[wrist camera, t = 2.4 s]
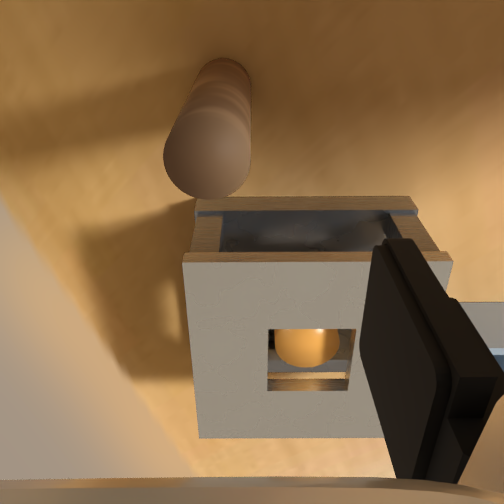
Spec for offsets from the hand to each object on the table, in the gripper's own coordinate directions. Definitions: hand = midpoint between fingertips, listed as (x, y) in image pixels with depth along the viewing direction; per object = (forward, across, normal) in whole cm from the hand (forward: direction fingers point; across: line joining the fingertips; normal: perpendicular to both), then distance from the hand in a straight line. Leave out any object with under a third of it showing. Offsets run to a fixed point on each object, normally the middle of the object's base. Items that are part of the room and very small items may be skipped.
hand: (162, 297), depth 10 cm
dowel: (+20, -1, 0) cm, 20 cm away
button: (+16, -6, +14) cm, 22 cm away
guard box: (+20, -6, +14) cm, 25 cm away
